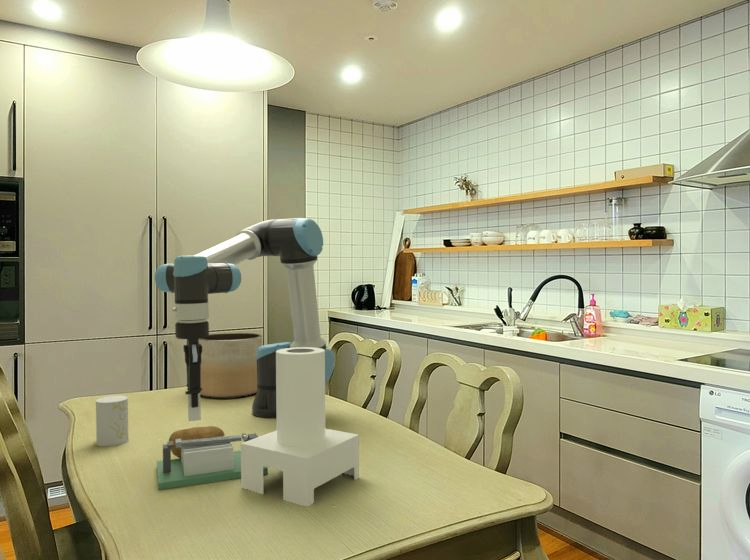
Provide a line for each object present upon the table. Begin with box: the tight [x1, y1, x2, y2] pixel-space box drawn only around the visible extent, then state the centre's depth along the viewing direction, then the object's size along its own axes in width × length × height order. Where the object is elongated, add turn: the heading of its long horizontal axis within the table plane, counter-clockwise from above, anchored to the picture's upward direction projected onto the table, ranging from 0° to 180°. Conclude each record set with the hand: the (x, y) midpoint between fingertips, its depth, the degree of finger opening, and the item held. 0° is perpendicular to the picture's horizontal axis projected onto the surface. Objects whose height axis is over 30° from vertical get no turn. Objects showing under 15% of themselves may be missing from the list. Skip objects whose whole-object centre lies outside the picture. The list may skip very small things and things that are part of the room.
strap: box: [175, 433, 248, 448], centre depth 134 cm, size 17×3×1 cm, turn 113°
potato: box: [168, 425, 225, 459], centre depth 142 cm, size 10×14×8 cm
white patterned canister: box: [95, 395, 130, 447], centre depth 157 cm, size 8×8×12 cm
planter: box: [198, 332, 263, 399], centre depth 218 cm, size 25×25×22 cm
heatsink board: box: [156, 432, 269, 491], centre depth 133 cm, size 24×15×8 cm, turn 113°
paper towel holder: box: [240, 347, 360, 507], centre depth 126 cm, size 19×19×30 cm
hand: (194, 419), depth 132 cm, fingers closed
